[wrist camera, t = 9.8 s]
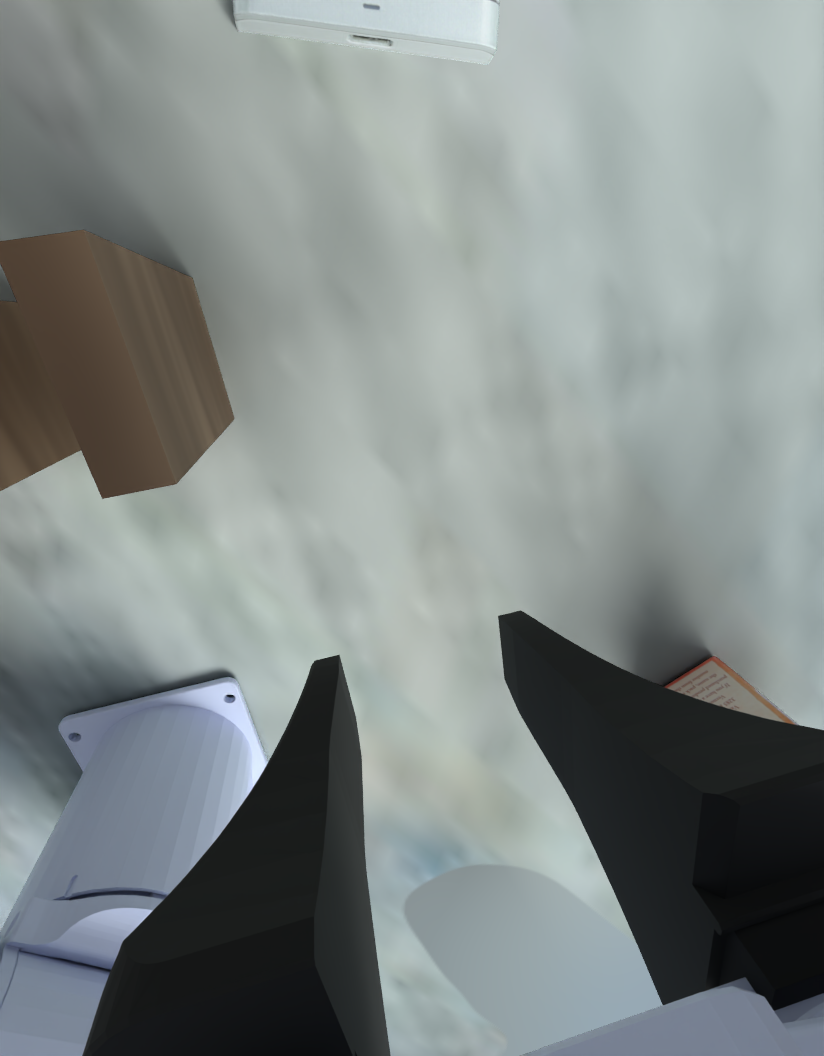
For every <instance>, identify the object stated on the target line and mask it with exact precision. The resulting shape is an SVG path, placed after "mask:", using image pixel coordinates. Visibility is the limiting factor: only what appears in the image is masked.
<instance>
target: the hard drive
mask: <svg viewBox="0 0 824 1056" xmlns="http://www.w3.org/2000/svg"><path fill="white" fill-rule="evenodd" d="M499 4H500V0H233V14H234V19H235V23H236V27H237V30H238V31H239V32H246V33H254V34H262V35H269V36H277V37H285V38H292V39H300V40H307V41H315V42H322V43H330V44H337V45H345V46H352V47H359V48H367V49H374V50H382V51H390V52H398V53H405V54H412V55H420V56H427V57H435V58H442V59H450V60H457V61H465V62H472V63H479V64H485V65H488V64H489V62H490V61H491V59H492V58H493V56H494V55H495V53H496V51H497V40H498V25H499Z"/></svg>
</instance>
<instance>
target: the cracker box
mask: <svg viewBox="0 0 824 1056" xmlns="http://www.w3.org/2000/svg"><path fill="white" fill-rule="evenodd" d="M665 688H668V689H671V690H673V691H676V692H679V693H682V694H685V695H688V696H691V697H693V698H696V699H699V700H702V701H705V702H708V703H712V704H715V705H718V706H722V707H725V708H728V709H732V710H736V711H740V712H743V713H747V714H751V715H755V716H759V717H762V718H767V719H771V720H775V721H780V722H785V723H790V724H795V725H798V724H797V723H796V722H795V721H794V720H792V719H791V718H790V717H789V716H788V715H786V714H785V713H784V712H783V711H781V710H780V709H779V708H778V707H777V706H775V705H774V704H773V703H772V702H771V701H769V700H768V699H767V698H766V697H765V696H763V695H762V694H761V693H760V692H758V691H757V690H756V689H755V688H754V687H752V686H751V685H750V684H749V683H748V682H746V681H745V680H744V679H743V678H742V677H740V676H739V675H738V674H737V673H736V672H734V671H733V670H732V669H731V668H729V667H728V666H727V665H726V664H725V663H723V662H722V661H721V660H720V659H718V658H717V657H715V656H713V657H710V658H709V659H707V660H706V661H705V662H703V663H702V664H700V665H698V666H697V667H695V668H693V669H692V670H690V671H688V672H687V673H685V674H684V675H682V676H680V677H679V678H677V679H676V680H674V681H673V682H671V683H669V684H668V685H666V686H665Z"/></svg>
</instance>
